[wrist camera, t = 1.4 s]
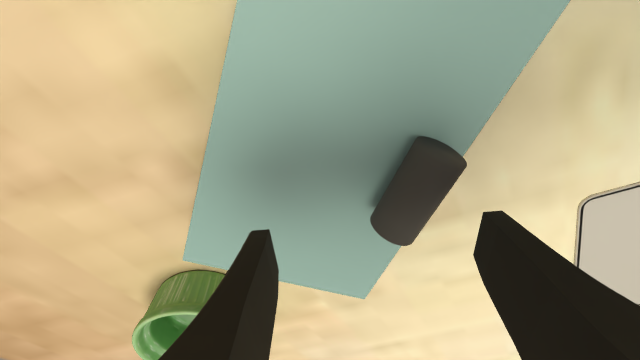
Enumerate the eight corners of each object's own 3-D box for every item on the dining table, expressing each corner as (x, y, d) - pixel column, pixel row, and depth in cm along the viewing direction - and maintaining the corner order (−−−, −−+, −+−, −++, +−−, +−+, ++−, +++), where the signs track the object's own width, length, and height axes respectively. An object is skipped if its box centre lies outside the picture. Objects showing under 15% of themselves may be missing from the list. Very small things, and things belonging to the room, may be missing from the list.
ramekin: (278, 315, 32) (274, 364, 28) (191, 338, 34) (177, 387, 30) (227, 250, 27) (214, 299, 23) (129, 281, 29) (103, 331, 25)
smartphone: (700, 167, 23) (661, 301, 31) (691, 162, 24) (654, 294, 32) (579, 200, 25) (571, 320, 33) (573, 194, 25) (567, 313, 33)
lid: (569, -14, 14) (626, -1, 12) (363, 292, 25) (369, 334, 23) (273, -158, 12) (262, -184, 9) (185, 253, 23) (169, 295, 20)
